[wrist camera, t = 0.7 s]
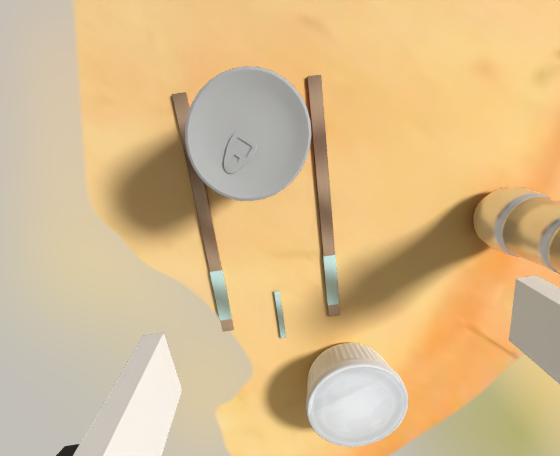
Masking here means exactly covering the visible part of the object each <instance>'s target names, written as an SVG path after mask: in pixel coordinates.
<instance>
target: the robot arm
mask: <svg viewBox="0 0 560 456" xmlns="http://www.w3.org/2000/svg"><path fill="white" fill-rule="evenodd" d="M509 341H510V342H512V343H513V344H514V345H515V346H516V347H517V348H519V349H520V350H521V351H522V352H523V353H524V354H525V355H527V356H528V357H529V358H530V359H531V360H532V361H534V362H535V363H536V364H537V365H538V366H539V367H541V368H542V369H543V370H544V371H545V372H546V373H547V374H549V375H550V376H551V377H552V378H553V379H554V380H555V381H557V382H558V383H559V384H560V288H559V287H557V286H555V285H553V284H551V283H549V282H548V281H546V280H544V279H542V278H540V277H538V276H531V277H524V278H517V279H516V284H515V292H514V301H513V309H512V318H511V326H510V334H509ZM181 392H182V389H181V385H180V382H179V379H178V376H177V373H176V370H175V367H174V363H173V360H172V357H171V354H170V351H169V348H168V345H167V341H166V338H165V335H164V333H157V334H151V335H144V336H143V337H142V338H141V340H140V342H139V343H138V345H137V347H136V349H135V350H134V352H133V354H132V355H131V357H130V359H129V361H128V362H127V364H126V366H125V367H124V369H123V371H122V373H121V374H120V376H119V378H118V380H117V381H116V383H115V385H114V386H113V388H112V390H111V391H110V393H109V395H108V397H107V398H106V400H105V402H104V403H103V405H102V407H101V409H100V410H99V412H98V414H97V415H96V417H95V419H94V420H93V422H92V424H91V426H90V427H89V429H88V431H87V432H86V434H85V436H84V438H83V439H82V441H81V443H80V444H77V445H71V446H65V447H64V448H63V449H62V450H61V451H60V452H59V453H58V454H57V455H56V456H161V455H162V452H163V449H164V446H165V443H166V440H167V436H168V433H169V430H170V426H171V424H172V420H173V417H174V414H175V411H176V408H177V404H178V401H179V398H180V395H181Z"/></svg>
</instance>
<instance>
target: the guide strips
mask: <svg viewBox="0 0 560 456" xmlns="http://www.w3.org/2000/svg"><path fill="white" fill-rule="evenodd" d="M307 79H308V90H309V101H310V112H311V123H312V135H313V146H314V157H315V168H316V179H317V190H318V202H319V213H320V224H321V235H322V246H323V262H324V274H325V285H326V296H327V305H328V313H329V317H331V316H338V315H340V314H339V293H338V280H337V267H336V255H335V249H334V236H333V223H332V210H331V197H330V184H329V171H328V158H327V145H326V132H325V119H324V106H323V93H322V80H321V75H315V76H308V77H307ZM172 96H173V101H174V106H175V110H176V115H177V120H178V124H179V129H180V134H181V138H182V143H183V148H184V152H185V157H186V162H187V166H188V171H189V176H190V180H191V185H192V190H193V194H194V199H195V203H196V208H197V213H198V217H199V222H200V227H201V231H202V236H203V241H204V245H205V250H206V255H207V259H208V264H209V269H210V276H211V281H212V286H213V290H214V295H215V300H216V304H217V309H218V313H219V318H220V320H221V325H222V329H223V331H230V330H234V327H233V322H232V315H231V310H230V305H229V300H228V295H227V290H226V285H225V280H224V275H223V270H222V268H221V263H220V258H219V253H218V248H217V243H216V238H215V233H214V228H213V223H212V218H211V213H210V208H209V203H208V198H207V193H206V188H205V183H204V182H203V180H202V179H201V178H200V177H199V176H198V174H197V173H196V171H195V170H194V168H193V166H192V164H191V161H190V159H189V156H188V153H187V148H186V143H185V126H186V121H187V115H188V112H189V110H190V109H189V104H188V99H187V94H186V92H185V93H177V94H172ZM274 295H275V301H276V308H277V315H278V322H279V328H280V335H281V338H285V337H286V333H285V326H284V319H283V312H282V305H281V298H280V291H274Z"/></svg>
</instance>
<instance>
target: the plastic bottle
mask: <svg viewBox="0 0 560 456" xmlns="http://www.w3.org/2000/svg"><path fill="white" fill-rule="evenodd" d="M473 223H474V228H475V231H476V234H477V235H478V237H479V238H480V239H481V240H482V241H483V242H485V243H486V244H487V245H488V246H490V247H491V248H492V249H494V250H496V251H499V252H502V253H505V254H508V255H513V256H517V257H521V258H524V259H526V260H529V261H532V262H534V263H537V264H540V265H542V266H545V267H547V268H549V269H551V270H553V271H555V272H557V273H559V274H560V201H557V200H554V199H552V198H550V197H548V196H546V195H544V194H542V193H539V192H537V191H534V190H531V189H528V188H523V187H505V188H500V189H497V190H495V191H493V192H491V193H490V194H488V195H487V196H485V197H484V198H483V199H482V200H481V201H480V202H479V204H478V205H477V207H476V209H475V212H474V217H473Z"/></svg>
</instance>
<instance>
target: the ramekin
mask: <svg viewBox="0 0 560 456" xmlns="http://www.w3.org/2000/svg"><path fill="white" fill-rule="evenodd" d="M407 407H408V394H407V390H406V388H405V385H404V383H403V381H402V380H401V378H400V377H399V375H398V374H397V373H396V372H395V371H394V370H393V369H392V368H390V366H389V365H388V364H387V363H386V361H385V360H384V359H383V358H382V357H381V356H380V355H379V354H378V353H377V352H376V351H375V350H373V349H372V348H370V347H368V346H365V345H362V344H358V343H342V344H338V345H335V346H332V347H330V348H328V349H326V350H325V351H324V352H322V353H321V354H320V355H319V356H318V357H317V358H316V359H315V361H314V362H313V364H312V365H311V368H310V370H309V374H308V385H307V398H306V412H307V417H308V420H309V423H310V425H311V427H312V428H313V430H314V431H315V432H316V433H317V434H318V435H319V436H320V437H322V438H323V439H325V440H326V441H329V442H331V443H333V444H336V445H340V446H348V447H356V446H363V445H368V444H371V443H374V442H377V441H379V440H381V439H383V438H385V437H386V436H388V435H389V434H391V433H392V432H393V431H394V430H396V429H397V428H398V426H399V425H400V424H401V422H402V420H403V418H404V416H405V414H406V411H407Z"/></svg>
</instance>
